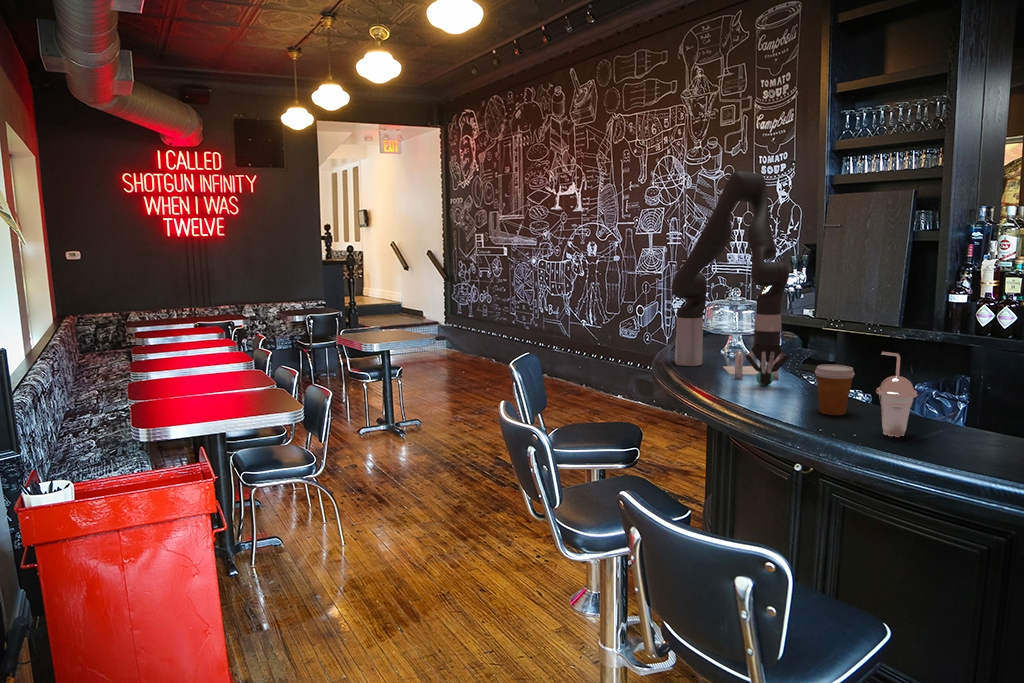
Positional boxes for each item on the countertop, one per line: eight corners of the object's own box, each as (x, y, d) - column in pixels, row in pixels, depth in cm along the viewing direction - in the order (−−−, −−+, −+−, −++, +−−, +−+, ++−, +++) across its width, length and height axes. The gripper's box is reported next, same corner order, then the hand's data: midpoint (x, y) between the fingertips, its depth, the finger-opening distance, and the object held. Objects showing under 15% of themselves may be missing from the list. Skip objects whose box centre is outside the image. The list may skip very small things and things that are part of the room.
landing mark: (730, 374, 235) (730, 374, 235) (722, 366, 249) (722, 366, 249) (773, 374, 234) (773, 374, 234) (763, 366, 247) (763, 366, 247)
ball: (757, 366, 217) (754, 373, 221) (758, 381, 215) (755, 387, 219) (774, 367, 216) (771, 374, 221) (775, 382, 214) (771, 388, 218)
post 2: (771, 380, 226) (772, 352, 225) (770, 378, 228) (771, 351, 227) (779, 380, 226) (780, 352, 224) (777, 378, 228) (778, 351, 227)
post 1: (735, 379, 227) (736, 352, 226) (733, 378, 230) (734, 351, 228) (743, 379, 227) (743, 352, 226) (741, 378, 229) (742, 351, 228)
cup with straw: (920, 440, 160) (926, 353, 157) (877, 438, 161) (883, 352, 158) (906, 429, 168) (912, 347, 165) (866, 428, 170) (870, 346, 167)
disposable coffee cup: (804, 410, 188) (806, 366, 186) (831, 406, 191) (833, 363, 190) (833, 418, 179) (836, 372, 177) (860, 414, 183) (863, 368, 181)
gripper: (787, 326, 214) (784, 382, 217) (742, 326, 216) (740, 382, 219) (793, 330, 207) (791, 388, 210) (747, 330, 209) (745, 387, 211)
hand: (765, 384), depth 214 cm, fingers closed
